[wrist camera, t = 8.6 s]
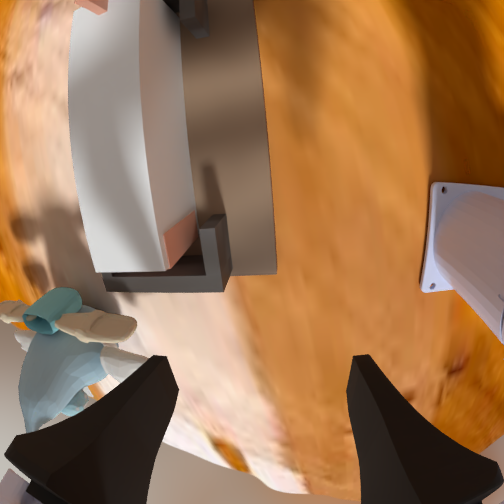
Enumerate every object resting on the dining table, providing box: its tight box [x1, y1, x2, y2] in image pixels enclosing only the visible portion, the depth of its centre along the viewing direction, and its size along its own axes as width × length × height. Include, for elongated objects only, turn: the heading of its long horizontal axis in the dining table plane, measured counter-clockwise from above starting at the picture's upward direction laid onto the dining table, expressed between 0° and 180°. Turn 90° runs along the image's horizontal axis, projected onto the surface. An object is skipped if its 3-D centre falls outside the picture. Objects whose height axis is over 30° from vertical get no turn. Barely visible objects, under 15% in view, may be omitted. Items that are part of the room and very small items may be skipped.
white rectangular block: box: [68, 0, 199, 272], centre depth 11 cm, size 14×4×8 cm, turn 5°
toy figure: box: [0, 287, 149, 433], centre depth 15 cm, size 17×10×15 cm, turn 94°
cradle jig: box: [100, 0, 277, 293], centre depth 14 cm, size 19×13×4 cm
